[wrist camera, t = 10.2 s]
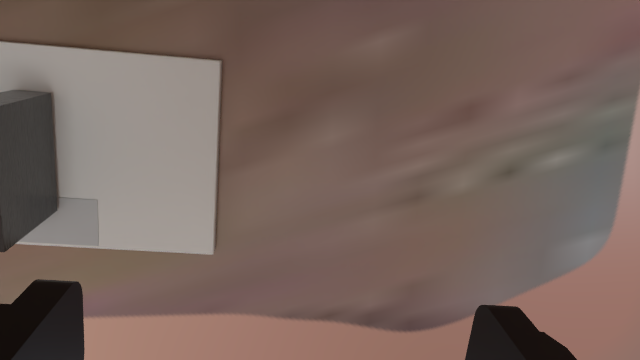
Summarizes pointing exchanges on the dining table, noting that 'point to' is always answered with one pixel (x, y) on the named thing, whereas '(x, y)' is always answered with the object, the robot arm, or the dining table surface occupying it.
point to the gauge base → (126, 146)
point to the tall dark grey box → (25, 164)
